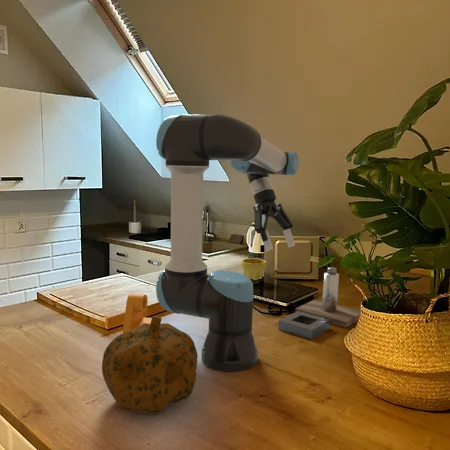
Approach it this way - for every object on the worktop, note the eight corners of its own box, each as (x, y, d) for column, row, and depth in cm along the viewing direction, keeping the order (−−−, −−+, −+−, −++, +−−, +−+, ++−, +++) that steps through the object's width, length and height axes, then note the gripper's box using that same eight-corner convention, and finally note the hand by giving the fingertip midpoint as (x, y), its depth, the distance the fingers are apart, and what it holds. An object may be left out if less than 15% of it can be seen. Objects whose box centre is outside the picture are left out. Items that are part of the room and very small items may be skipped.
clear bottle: (332, 313, 154) (335, 270, 151) (319, 310, 157) (321, 268, 154) (338, 310, 157) (341, 268, 155) (325, 306, 161) (328, 265, 158)
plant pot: (256, 287, 190) (257, 264, 188) (236, 282, 196) (237, 260, 194) (269, 282, 198) (270, 260, 196) (250, 278, 204) (250, 257, 202)
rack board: (345, 328, 146) (346, 322, 146) (295, 314, 158) (295, 308, 158) (363, 317, 157) (363, 311, 157) (314, 304, 169) (314, 299, 169)
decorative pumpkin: (107, 374, 110) (113, 296, 106) (193, 380, 112) (201, 304, 108) (88, 426, 90) (94, 333, 87) (193, 432, 92) (203, 341, 88)
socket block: (311, 339, 136) (312, 330, 136) (278, 329, 144) (278, 320, 143) (330, 328, 145) (330, 319, 145) (297, 319, 153) (298, 311, 152)
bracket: (145, 340, 133) (145, 301, 132) (123, 337, 135) (122, 298, 133) (158, 326, 144) (158, 290, 142) (137, 324, 145) (136, 288, 143)
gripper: (275, 196, 173) (292, 248, 169) (233, 195, 155) (251, 254, 151) (290, 188, 169) (308, 242, 165) (249, 187, 150) (268, 248, 146)
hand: (281, 248), depth 158 cm, fingers open, 13 cm apart
